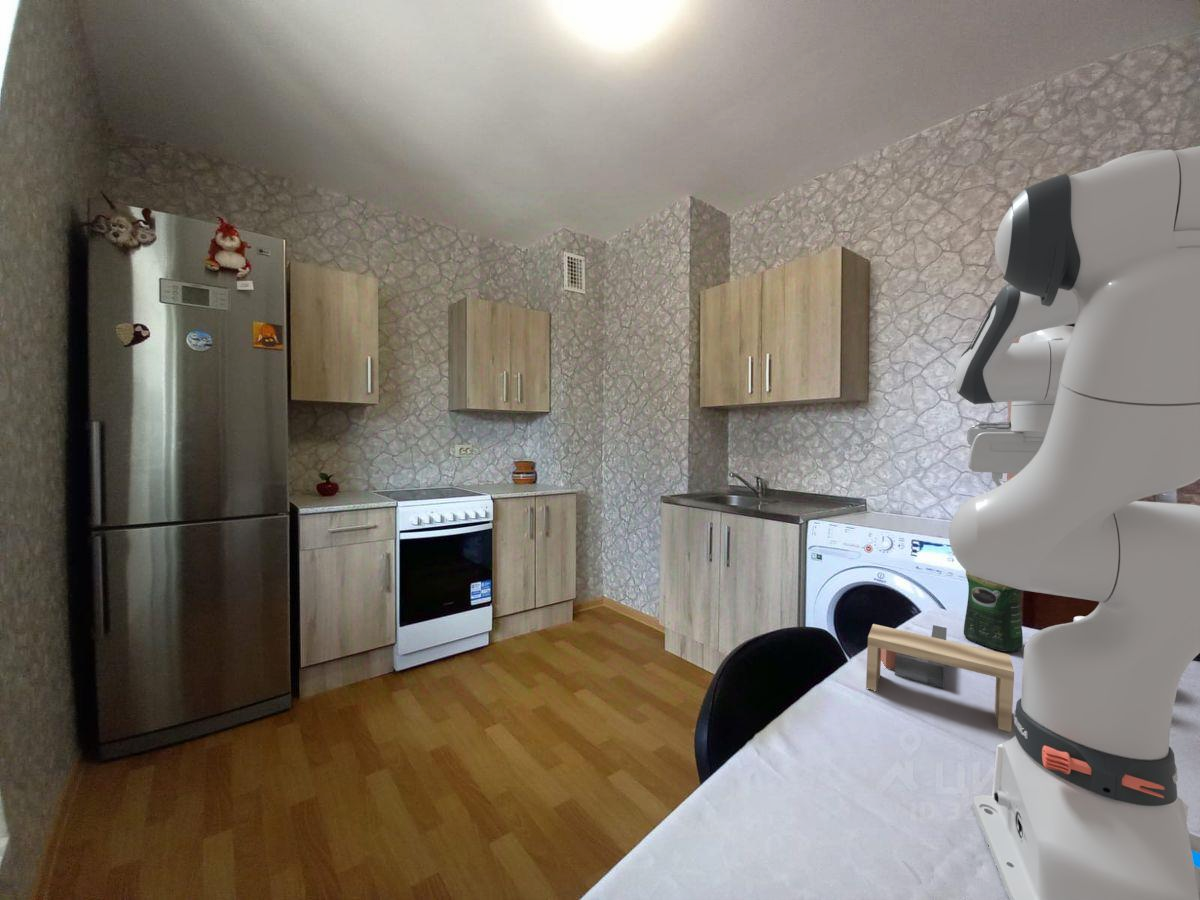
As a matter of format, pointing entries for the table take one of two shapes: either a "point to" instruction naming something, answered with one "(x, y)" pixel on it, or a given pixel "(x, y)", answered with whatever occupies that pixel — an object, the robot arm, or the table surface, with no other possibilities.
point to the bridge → (945, 662)
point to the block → (888, 658)
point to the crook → (922, 665)
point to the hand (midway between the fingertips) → (1039, 500)
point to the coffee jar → (993, 615)
